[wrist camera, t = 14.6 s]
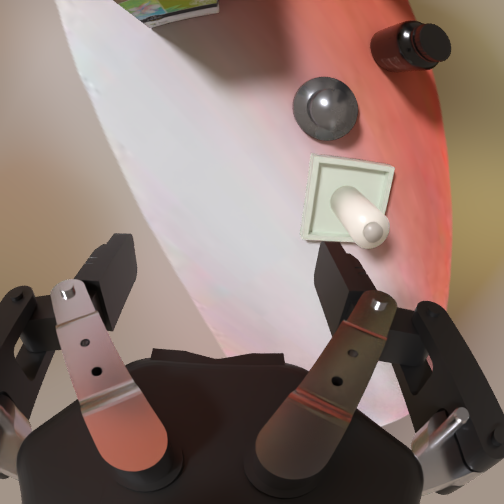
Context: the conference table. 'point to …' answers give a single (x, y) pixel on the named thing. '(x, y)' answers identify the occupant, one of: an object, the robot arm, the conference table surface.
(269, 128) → the conference table surface
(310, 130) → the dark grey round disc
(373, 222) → the white knobbed cylinder
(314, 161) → the tray
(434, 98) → the conference table surface
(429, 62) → the supplement bottle
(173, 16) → the tea box
